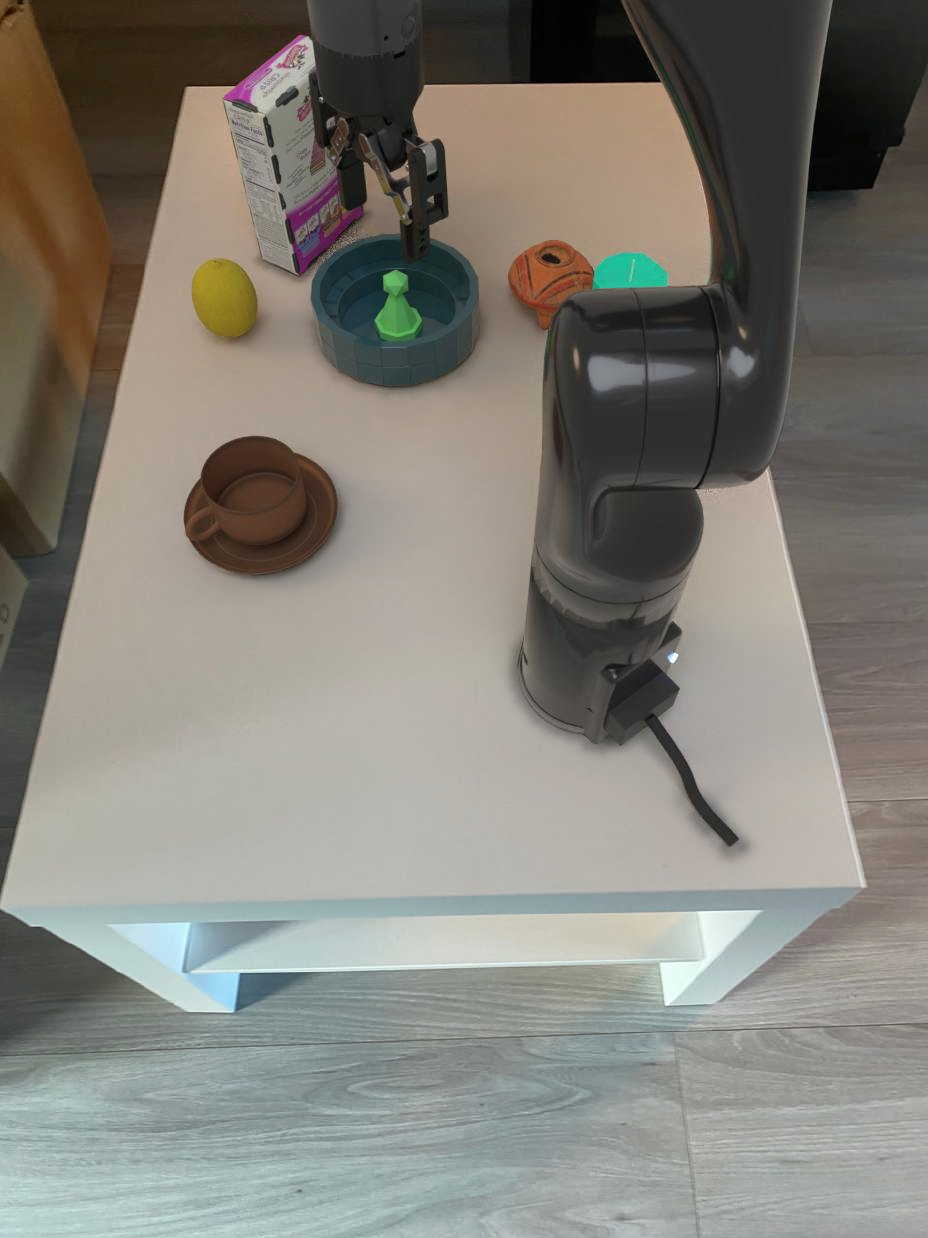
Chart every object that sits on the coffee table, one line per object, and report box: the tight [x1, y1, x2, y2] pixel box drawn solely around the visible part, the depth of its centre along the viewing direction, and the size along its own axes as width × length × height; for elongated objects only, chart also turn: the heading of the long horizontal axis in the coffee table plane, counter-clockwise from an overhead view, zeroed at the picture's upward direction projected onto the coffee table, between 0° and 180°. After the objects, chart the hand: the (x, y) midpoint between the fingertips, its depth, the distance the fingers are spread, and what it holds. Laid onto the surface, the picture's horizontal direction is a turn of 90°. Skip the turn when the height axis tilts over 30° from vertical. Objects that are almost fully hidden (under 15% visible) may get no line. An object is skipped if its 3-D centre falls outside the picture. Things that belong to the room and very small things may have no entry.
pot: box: [507, 239, 595, 330], centre depth 86 cm, size 8×8×7 cm
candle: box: [592, 251, 669, 289], centre depth 79 cm, size 6×6×12 cm
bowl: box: [310, 232, 480, 387], centre depth 85 cm, size 15×15×5 cm
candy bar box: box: [221, 34, 365, 277], centre depth 87 cm, size 11×5×16 cm, turn 148°
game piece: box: [375, 270, 423, 341], centre depth 84 cm, size 4×4×6 cm
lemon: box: [191, 257, 259, 338], centre depth 83 cm, size 6×6×8 cm
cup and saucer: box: [183, 435, 339, 575], centre depth 73 cm, size 12×12×6 cm
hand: (384, 231), depth 77 cm, fingers open, 8 cm apart
